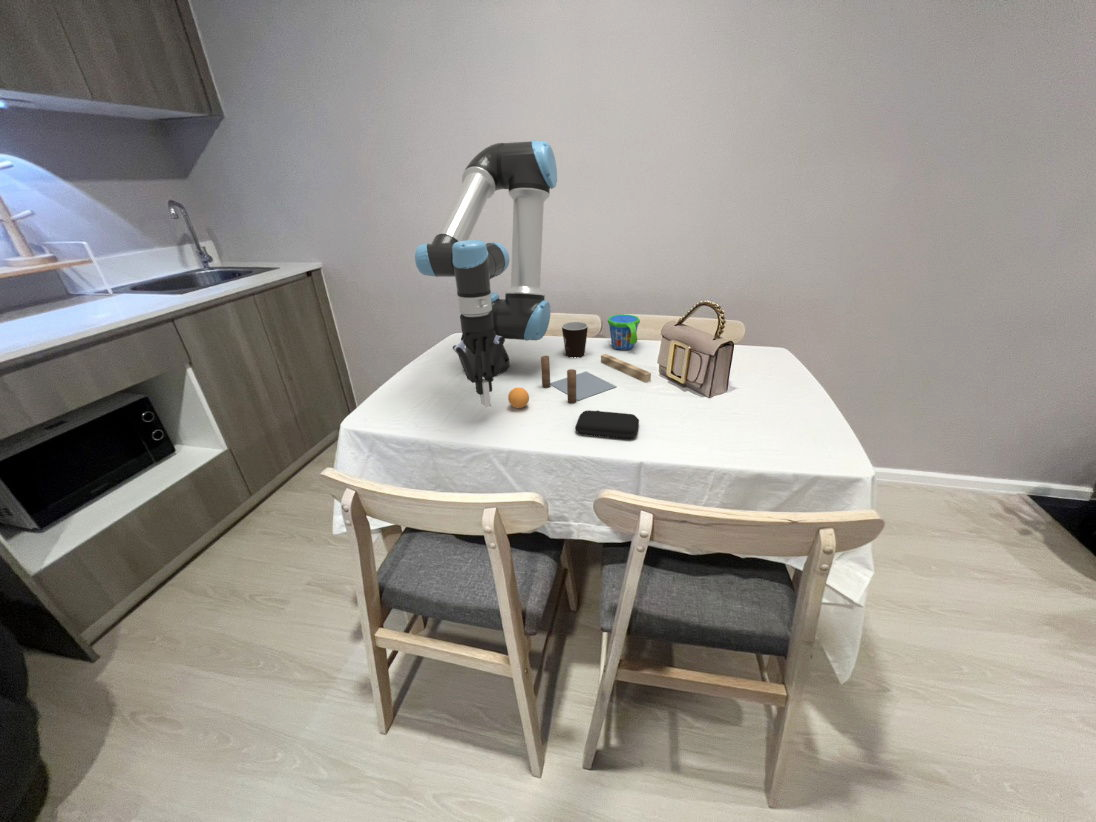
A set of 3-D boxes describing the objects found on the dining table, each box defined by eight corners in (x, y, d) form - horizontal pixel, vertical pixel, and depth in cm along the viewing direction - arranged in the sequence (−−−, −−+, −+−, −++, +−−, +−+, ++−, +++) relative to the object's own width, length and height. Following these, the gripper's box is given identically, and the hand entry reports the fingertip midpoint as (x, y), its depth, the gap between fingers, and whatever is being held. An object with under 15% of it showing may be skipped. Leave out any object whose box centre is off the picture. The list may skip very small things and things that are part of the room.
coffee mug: (586, 359, 151) (586, 330, 146) (560, 358, 153) (559, 329, 148) (590, 347, 161) (590, 319, 156) (566, 346, 163) (565, 318, 158)
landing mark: (548, 384, 135) (548, 383, 135) (586, 371, 142) (586, 371, 142) (578, 400, 125) (578, 400, 125) (616, 387, 132) (616, 386, 132)
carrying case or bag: (639, 420, 115) (581, 415, 119) (640, 410, 114) (581, 405, 117) (636, 443, 106) (573, 437, 110) (636, 431, 105) (573, 426, 108)
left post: (540, 386, 134) (539, 357, 130) (547, 383, 136) (546, 355, 131) (545, 388, 133) (543, 359, 128) (552, 386, 134) (550, 357, 130)
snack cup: (601, 341, 166) (601, 313, 161) (628, 338, 168) (629, 310, 163) (616, 356, 153) (617, 326, 148) (645, 353, 154) (647, 323, 150)
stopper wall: (600, 362, 149) (601, 355, 147) (605, 360, 150) (605, 353, 148) (645, 382, 134) (646, 374, 133) (650, 380, 135) (651, 372, 134)
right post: (565, 401, 125) (565, 370, 121) (572, 398, 126) (572, 368, 122) (571, 404, 124) (570, 373, 119) (578, 401, 125) (578, 371, 120)
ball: (505, 406, 124) (503, 387, 121) (522, 400, 127) (521, 382, 124) (515, 413, 120) (514, 395, 117) (533, 407, 123) (532, 389, 120)
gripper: (456, 321, 100) (468, 417, 110) (508, 310, 106) (515, 402, 117) (443, 314, 105) (455, 406, 116) (493, 304, 112) (500, 392, 122)
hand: (485, 404), depth 116 cm, fingers closed
